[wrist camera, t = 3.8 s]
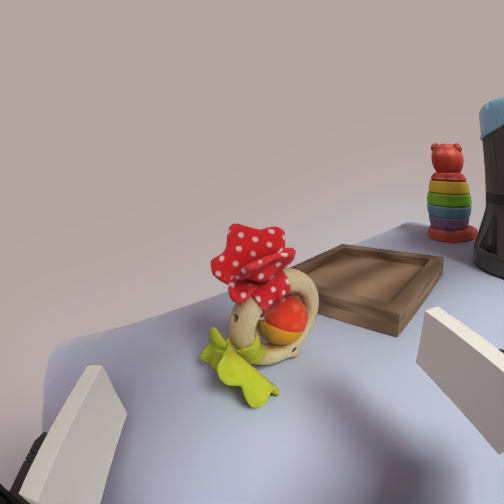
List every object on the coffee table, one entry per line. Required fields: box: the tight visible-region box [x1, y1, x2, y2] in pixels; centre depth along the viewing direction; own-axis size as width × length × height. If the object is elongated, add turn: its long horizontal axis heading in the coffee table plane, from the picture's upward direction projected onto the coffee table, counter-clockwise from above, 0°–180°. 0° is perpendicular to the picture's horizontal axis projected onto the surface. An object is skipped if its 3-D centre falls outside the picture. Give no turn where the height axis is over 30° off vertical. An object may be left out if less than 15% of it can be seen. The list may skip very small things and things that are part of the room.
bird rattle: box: [200, 224, 319, 408], centre depth 19 cm, size 6×11×9 cm
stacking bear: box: [427, 143, 478, 242], centre depth 43 cm, size 11×10×18 cm
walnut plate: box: [290, 244, 443, 337], centre depth 31 cm, size 16×16×2 cm
